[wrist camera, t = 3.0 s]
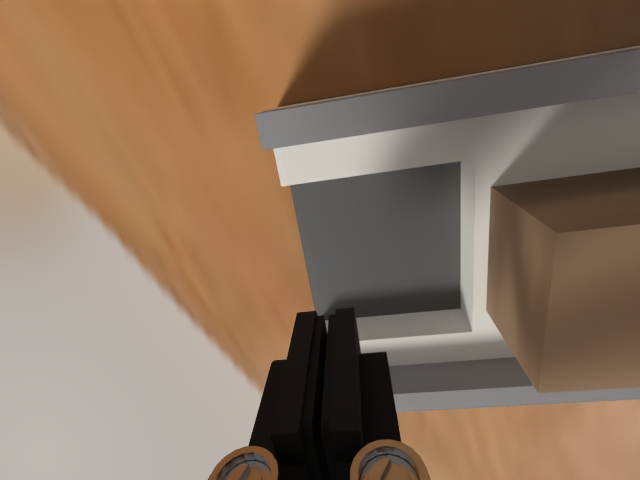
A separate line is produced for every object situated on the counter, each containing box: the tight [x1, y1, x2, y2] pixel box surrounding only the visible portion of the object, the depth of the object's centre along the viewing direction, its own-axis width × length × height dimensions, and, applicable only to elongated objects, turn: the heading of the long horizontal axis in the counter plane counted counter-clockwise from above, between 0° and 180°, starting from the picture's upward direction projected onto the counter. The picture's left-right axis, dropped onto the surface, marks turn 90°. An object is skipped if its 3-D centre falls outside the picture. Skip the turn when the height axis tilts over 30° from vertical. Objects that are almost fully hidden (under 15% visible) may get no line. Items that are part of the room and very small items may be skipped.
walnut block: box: [486, 167, 640, 393], centre depth 10 cm, size 5×6×4 cm
